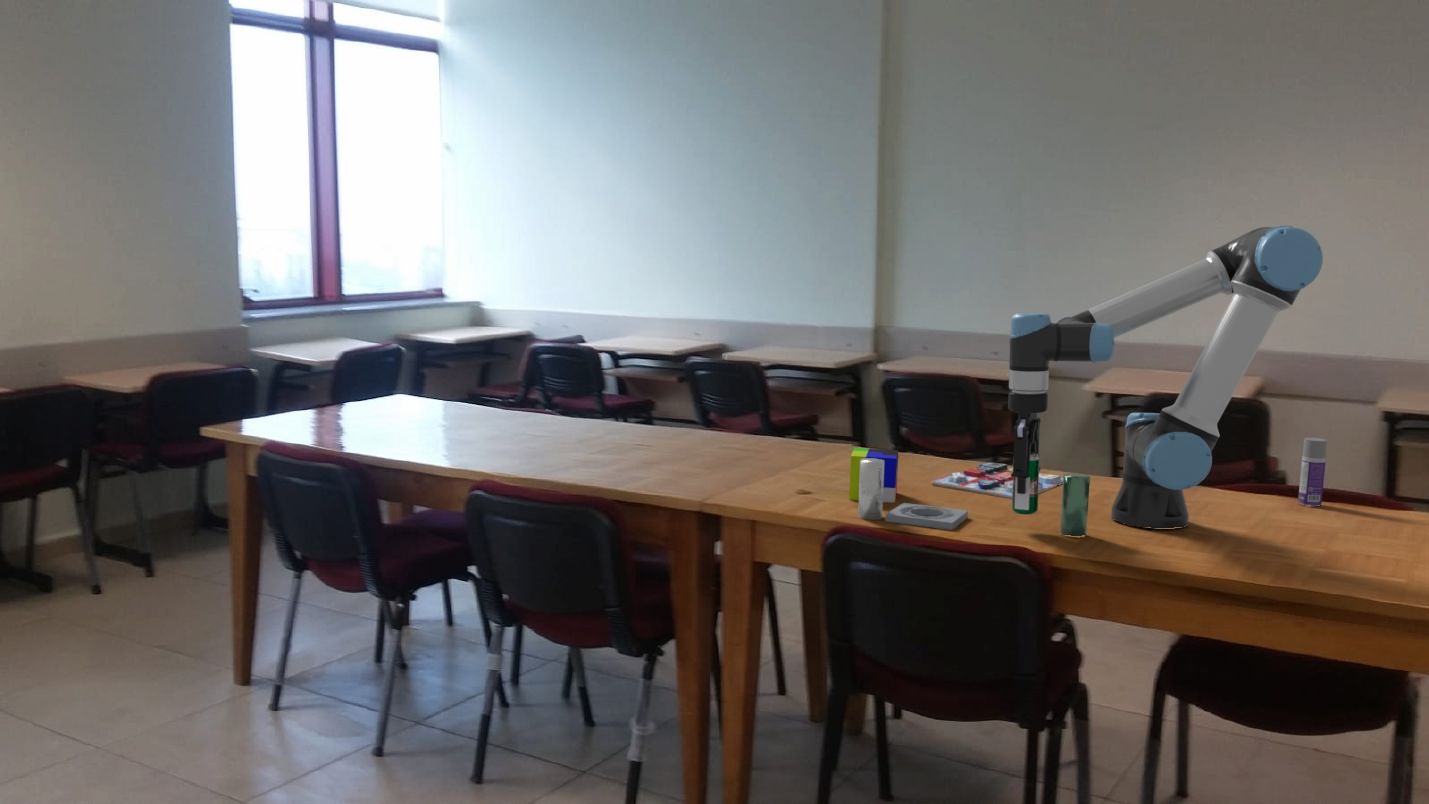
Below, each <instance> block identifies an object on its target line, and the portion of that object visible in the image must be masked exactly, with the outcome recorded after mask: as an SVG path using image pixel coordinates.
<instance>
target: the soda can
mask: <svg viewBox="0 0 1429 804" xmlns="http://www.w3.org/2000/svg"><path fill="white" fill-rule="evenodd" d="M1037 455H1038V454H1037V453H1034V452H1030V464H1029V476H1028V477H1030V497H1029V510H1022V509H1015V477H1013V485H1012V499H1011V510H1012V511H1013V513H1015V514H1018V515H1026V516H1027V515H1034V514H1036V513H1037V512H1038V511H1039V494H1038V491H1039V473H1040V471H1039V467H1040V458H1038V456H1037ZM1013 459H1014V457H1013V458H1012V460H1013Z"/></svg>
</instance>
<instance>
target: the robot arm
mask: <svg viewBox="0 0 1429 804" xmlns="http://www.w3.org/2000/svg"><path fill="white" fill-rule="evenodd" d="M1323 255H1324V254H1323V250H1322V248H1321V245H1320V243H1319V241H1318V240H1317V238H1316V237H1315V236H1314V235H1313V234H1311V232H1308V231H1306V230H1304V229H1303V228H1299V227H1294V226H1292V225H1279V226H1276V227H1275V226H1267V227H1265V226H1264V227H1259V228H1255V229H1252V230H1250V231H1248V232H1246V233H1244V234H1242V235H1240V236H1238V237H1236V238H1235V239H1232V240H1231V241H1229V242H1227V243H1225V244H1223V245H1221V246H1219V247H1217V248H1214V249H1212V250H1210V251H1208V252H1207V254H1206V256H1205V258H1204V259H1201V260H1199V261H1196V262H1195V263H1192V264H1190V265H1187V266H1185V267H1184V268H1180V269H1179V270H1177V271H1174V272H1172V273H1169V274H1167V275H1165V276H1163V277H1160V278H1158V279H1156V280H1153V281H1151V282H1149V283H1146V284H1144V285H1142V286H1140V287H1137V288H1134V289H1132V290H1130V291H1127V292H1126V293H1124V294H1121V295H1119V296H1117V297H1114V298H1112V299H1110V300H1107V301H1104V302H1103V303H1100V304H1098V305H1096V306H1093V307H1091V308H1088V309H1087V310H1084V311H1081V312H1080V313H1076V314H1074V315H1072V316H1066V317H1063V318H1059V319H1058V320H1057V321H1056V322H1052V321H1051V316H1050V314H1049V313H1046V312H1045V313H1044V312H1017V313H1015V314H1014V315H1013V316H1012V317H1011V319H1010V333H1009V334H1010V335H1009V367H1008V369H1009V372H1008V373H1006V375H1005V378H1007V379H1009V380H1008V388H1009V390H1011V391H1009V393H1008V402H1007V403H1008V404H1007V406H1008V407H1007V408H1008V410H1009V411H1010V412H1017V413H1018V418H1017V420H1015V424H1014V426H1013V458H1014V459H1013V458H1012V468H1013V474H1012V473H1011V477H1015V509H1022V510H1029V497H1030V477H1028V476H1029V464H1030V452H1034V453H1037V454H1038V455H1037V456H1038V458H1039V457H1040V427H1041V417H1038V415H1037V414H1040V413H1044V412H1046V411H1047V410H1048V406H1049V405H1048V400H1049V394H1048V393H1047V392H1046V391H1048V390H1049V381H1050V380H1049V375H1050V373H1049V372H1050V370H1049V368H1050V367H1049V363H1050V362H1087V363H1088V362H1091V363H1097V362H1107V361H1110V360H1111V359H1112V357H1113V355H1114V352H1115V351H1114V350H1115V339H1116V338H1117V337H1121V336H1122V335H1124V334H1127V333H1129V332H1131V331H1134V330H1136V329H1139V328H1141V327H1144V326H1146V325H1148V324H1150V323H1153V322H1155V321H1157V320H1159V319H1163V318H1165V317H1166V316H1169V315H1172V314H1175V313H1176V312H1179V311H1181V310H1183V309H1185V308H1188V307H1192V306H1193V305H1196V304H1199V303H1200V302H1203V301H1206V300H1207V299H1209V298H1212V297H1214V296H1216V295H1219V294H1223V295H1227V296H1229V295H1232V294H1233V295H1232V296H1231V299H1230V300H1229V301H1228V303H1227V306H1226V308H1225V310H1224V311H1223V312H1222V315H1221V317H1220V319H1218V322H1217V324H1216V326H1215V328H1214V330H1213V331H1212V333H1211V336H1210V337H1209V338H1208V341H1207V343H1206V345H1205V347H1204V348H1203V350H1202V352H1201V354H1200V356H1199V357H1198V359H1197V361H1196V363H1195V365H1194V367H1193V368H1192V370H1191V373H1190V374H1189V375H1188V377H1187V379H1186V381H1185V384H1184V386H1182V389H1181V391H1180V392H1179V394H1178V396H1177V398H1176V400H1175V402H1174V403H1173V404H1172V405H1170V406H1167V407H1163V408H1162V409H1161V411H1160V413H1157V412H1156V413H1155V412H1131V413H1129V415H1128V416H1127V418H1126V424H1125V426H1124V427H1125V439H1124V453H1123V454H1124V455H1123V468H1122V469H1123V470H1122V472H1123V473H1122V482H1121V484H1120V488H1119V490H1118V492H1117V494H1116V498H1115V499H1114V501H1113V504H1112V506H1111V513H1110V514H1111V515H1110V517H1111V519H1112V520H1113V519H1115V520H1116V521H1119V522H1121V523H1120V524H1122V523H1125V524H1128V525H1127V526H1129V525H1132V526H1131V527H1134V526H1137V527H1136V528H1139V527H1151V528H1174V527H1184V526H1186V525H1187V524H1188V525H1189V520H1190V519H1189V517H1190V516H1189V511H1188V507H1187V503H1186V500H1185V495H1184V491H1183V490H1188V489H1192V488H1194V487H1196V486H1197V485H1199V484H1200V483H1202V482H1203V480H1205V479H1206V478H1207V476H1208V475H1209V473H1210V471H1211V468H1212V466H1213V465H1212V464H1213V456H1212V451H1213V450H1214V447H1215V446H1216V445H1217V442H1218V440H1219V438H1220V436H1221V435H1220V433H1219V428H1218V423H1219V421H1220V420H1221V417H1222V416H1223V413H1224V412H1225V410H1226V408H1227V406H1228V404H1229V403H1230V401H1231V399H1232V397H1233V395H1234V394H1235V392H1236V390H1237V388H1238V386H1239V384H1240V383H1241V381H1242V379H1243V377H1244V375H1245V374H1246V372H1247V370H1248V368H1249V366H1250V365H1251V363H1252V360H1253V359H1254V357H1255V355H1256V353H1257V352H1258V350H1259V348H1260V346H1261V345H1262V343H1263V341H1264V339H1265V337H1266V336H1267V333H1268V332H1269V330H1270V329H1271V326H1272V324H1273V323H1274V321H1275V319H1276V317H1277V316H1278V314H1279V313H1280V312H1282V311H1286V310H1288V309H1291V307H1292V306H1293V305H1294V302H1295V300H1296V299H1297V297H1298V295H1299V294H1300V292H1301V290H1302V289H1305V288H1306V287H1308V286H1309V285H1310V284H1312V283H1313V282H1314V281H1315V280H1316V279H1317V277H1318V276H1319V274H1320V272H1321V270H1322V267H1323V263H1324V260H1323V259H1324V257H1323ZM1039 459H1040V458H1039ZM1039 472H1041V466H1039ZM1116 521H1115V522H1116ZM1119 522H1118V523H1119ZM1125 524H1124V525H1125ZM1184 528H1185V527H1184Z"/></svg>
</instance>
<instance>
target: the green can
mask: <svg viewBox="0 0 1429 804" xmlns="http://www.w3.org/2000/svg"><path fill="white" fill-rule="evenodd" d="M1062 477H1063V484H1062V493H1061V510H1060V512H1061V513H1060V527H1059V534H1060V533H1061V534H1062V535H1071V536H1082V535H1086V536H1087V527H1088V526H1087V525H1088V514H1089V511H1088V510H1089V499H1090V498H1089V497H1090V484H1091V482H1090V481H1091V476H1090V475H1088V474H1084V473H1075V472H1073V473H1071V472H1069V473H1068V472H1067V473H1064V474H1063V475H1062ZM1062 535H1061V536H1062Z"/></svg>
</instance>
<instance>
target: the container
mask: <svg viewBox="0 0 1429 804" xmlns="http://www.w3.org/2000/svg"><path fill="white" fill-rule="evenodd" d="M1327 443H1328V441H1327V439H1325V438H1319V437H1304V440H1303V449H1302V450H1303V451H1302V457H1301V458H1302V459H1301V466H1300V478H1299V480H1300V481H1299V489H1298V498H1297V499H1298V501H1297V503H1298V502H1299V503H1302V504H1304V505H1311V506H1318V505H1321V506H1322V502H1323V500H1322V499H1323V491H1324V480H1325V472H1326V471H1325V470H1326V460H1327V459H1326V458H1327Z"/></svg>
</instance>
